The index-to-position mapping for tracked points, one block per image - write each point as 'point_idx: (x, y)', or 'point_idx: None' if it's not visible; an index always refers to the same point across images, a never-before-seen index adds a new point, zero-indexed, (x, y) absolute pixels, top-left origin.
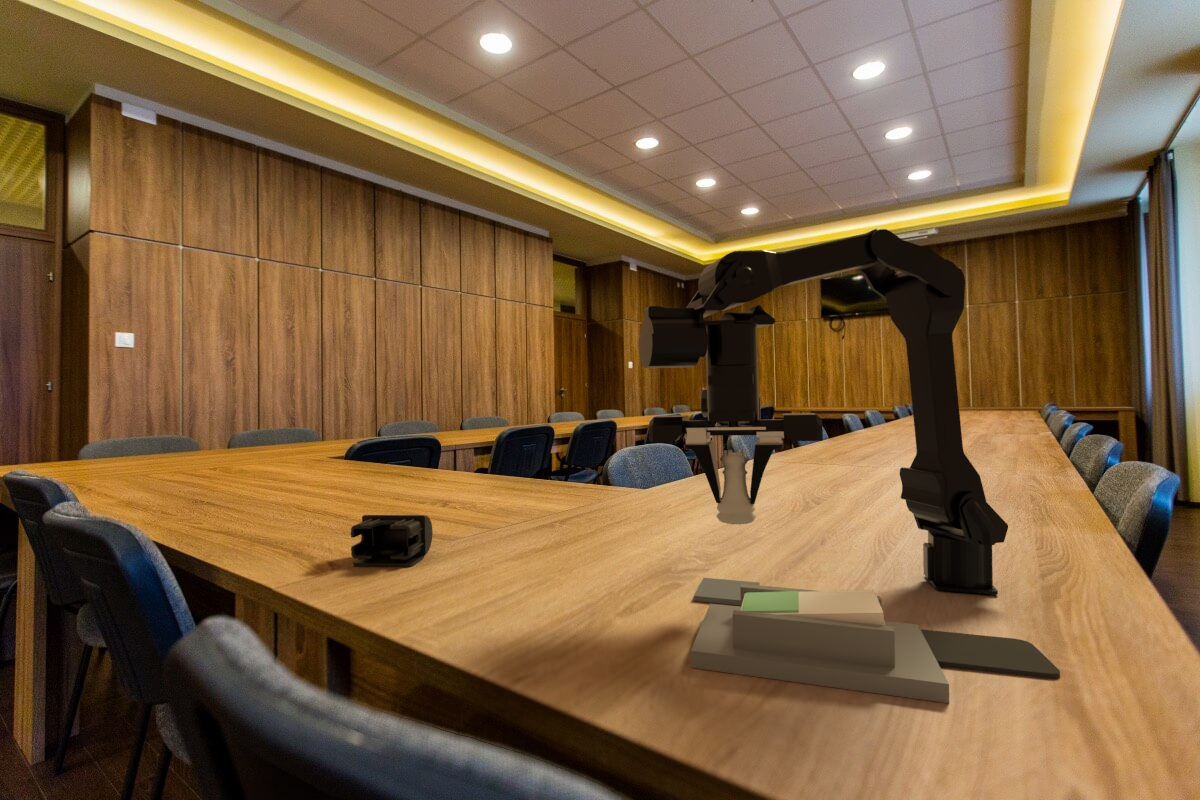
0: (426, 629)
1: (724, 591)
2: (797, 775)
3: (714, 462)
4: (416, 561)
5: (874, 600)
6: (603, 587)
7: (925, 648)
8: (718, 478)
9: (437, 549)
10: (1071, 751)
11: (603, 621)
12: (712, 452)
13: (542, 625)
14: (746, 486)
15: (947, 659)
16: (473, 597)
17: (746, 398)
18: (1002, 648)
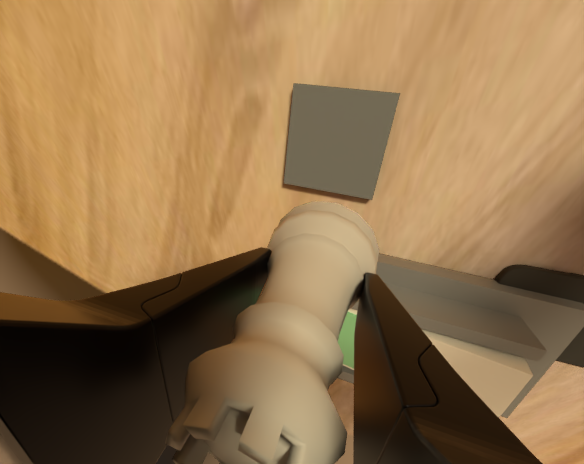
0: (92, 267)
1: (328, 157)
2: (350, 427)
3: (178, 387)
4: None
5: (502, 403)
6: (164, 140)
7: (541, 367)
8: (231, 296)
9: None
10: (551, 451)
11: (203, 249)
12: (132, 447)
13: (159, 259)
14: (343, 321)
15: (566, 357)
16: (69, 195)
17: None
18: None
